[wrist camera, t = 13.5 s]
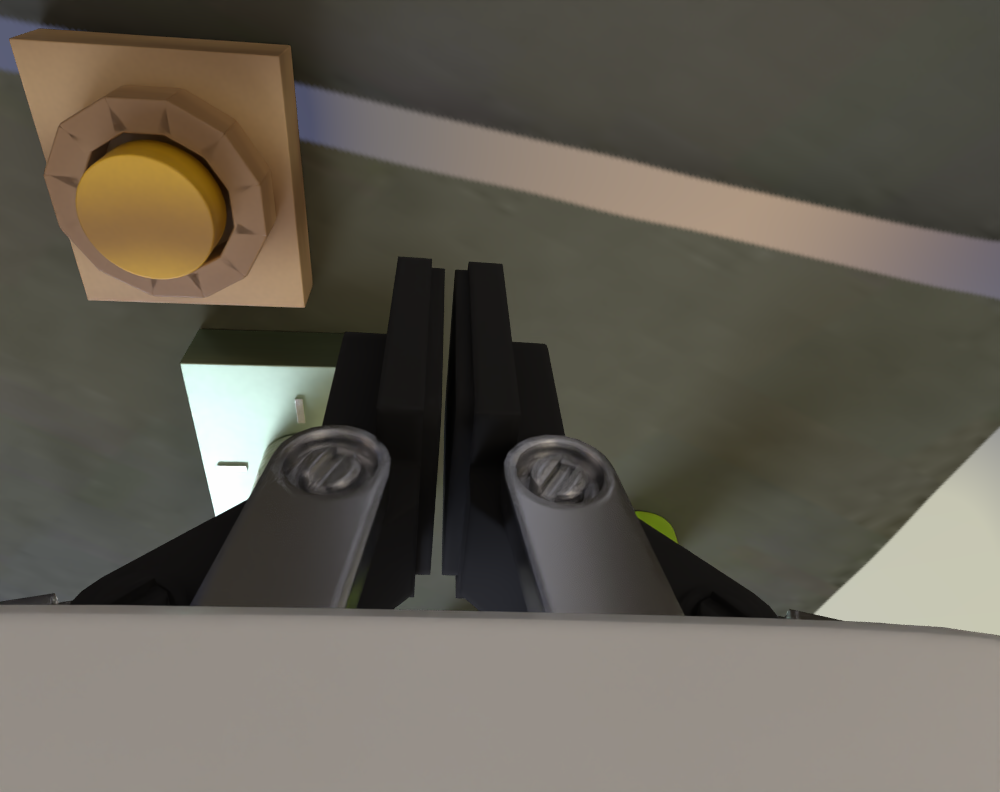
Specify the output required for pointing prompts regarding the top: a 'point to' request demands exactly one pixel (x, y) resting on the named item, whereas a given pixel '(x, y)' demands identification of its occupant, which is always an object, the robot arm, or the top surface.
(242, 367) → the dial panel
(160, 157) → the round yellow button
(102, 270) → the button housing
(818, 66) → the top surface
